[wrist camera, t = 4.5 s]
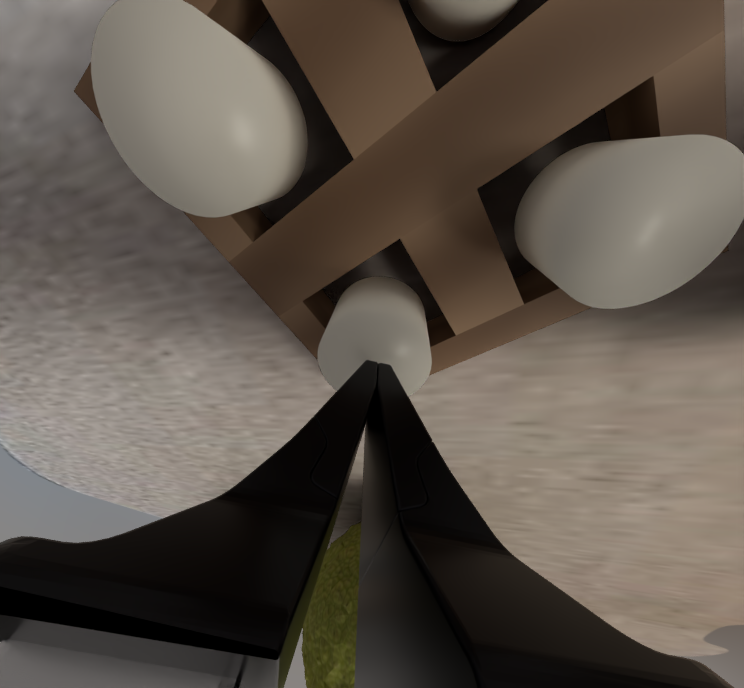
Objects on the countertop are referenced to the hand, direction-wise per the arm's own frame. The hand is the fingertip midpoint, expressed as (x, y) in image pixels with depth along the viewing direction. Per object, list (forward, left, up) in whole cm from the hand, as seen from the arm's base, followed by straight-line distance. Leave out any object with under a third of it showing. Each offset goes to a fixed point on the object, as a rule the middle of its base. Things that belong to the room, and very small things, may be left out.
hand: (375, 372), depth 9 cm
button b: (0, 0, -4) cm, 4 cm away
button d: (+8, 0, -4) cm, 9 cm away
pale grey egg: (0, -8, -4) cm, 9 cm away
